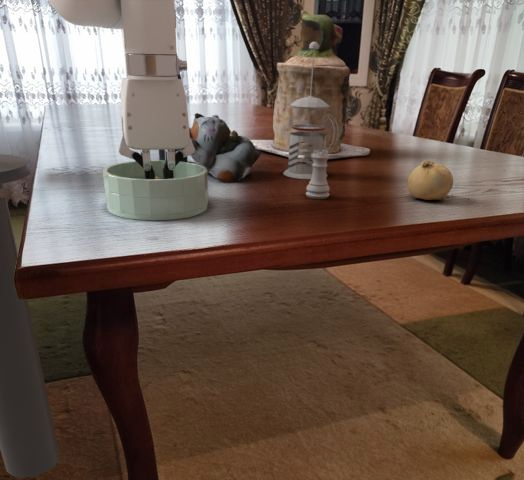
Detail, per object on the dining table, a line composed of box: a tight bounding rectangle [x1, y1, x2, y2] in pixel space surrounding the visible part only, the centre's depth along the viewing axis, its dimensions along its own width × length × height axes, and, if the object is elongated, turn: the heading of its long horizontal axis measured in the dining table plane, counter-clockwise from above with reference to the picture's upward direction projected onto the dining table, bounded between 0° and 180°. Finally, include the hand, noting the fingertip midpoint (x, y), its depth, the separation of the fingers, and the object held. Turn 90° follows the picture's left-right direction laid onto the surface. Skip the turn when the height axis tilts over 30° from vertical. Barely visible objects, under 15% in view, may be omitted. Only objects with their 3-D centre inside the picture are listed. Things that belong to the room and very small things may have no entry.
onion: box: [407, 159, 454, 201], centre depth 96 cm, size 8×8×7 cm
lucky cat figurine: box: [189, 112, 262, 183], centre depth 108 cm, size 15×12×14 cm
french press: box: [282, 42, 339, 180], centre depth 108 cm, size 10×12×25 cm
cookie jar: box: [249, 10, 371, 161], centre depth 132 cm, size 25×25×32 cm
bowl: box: [102, 159, 209, 221], centre depth 86 cm, size 16×16×6 cm
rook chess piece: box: [305, 150, 330, 200], centre depth 95 cm, size 4×4×8 cm
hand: (160, 193), depth 87 cm, fingers closed
